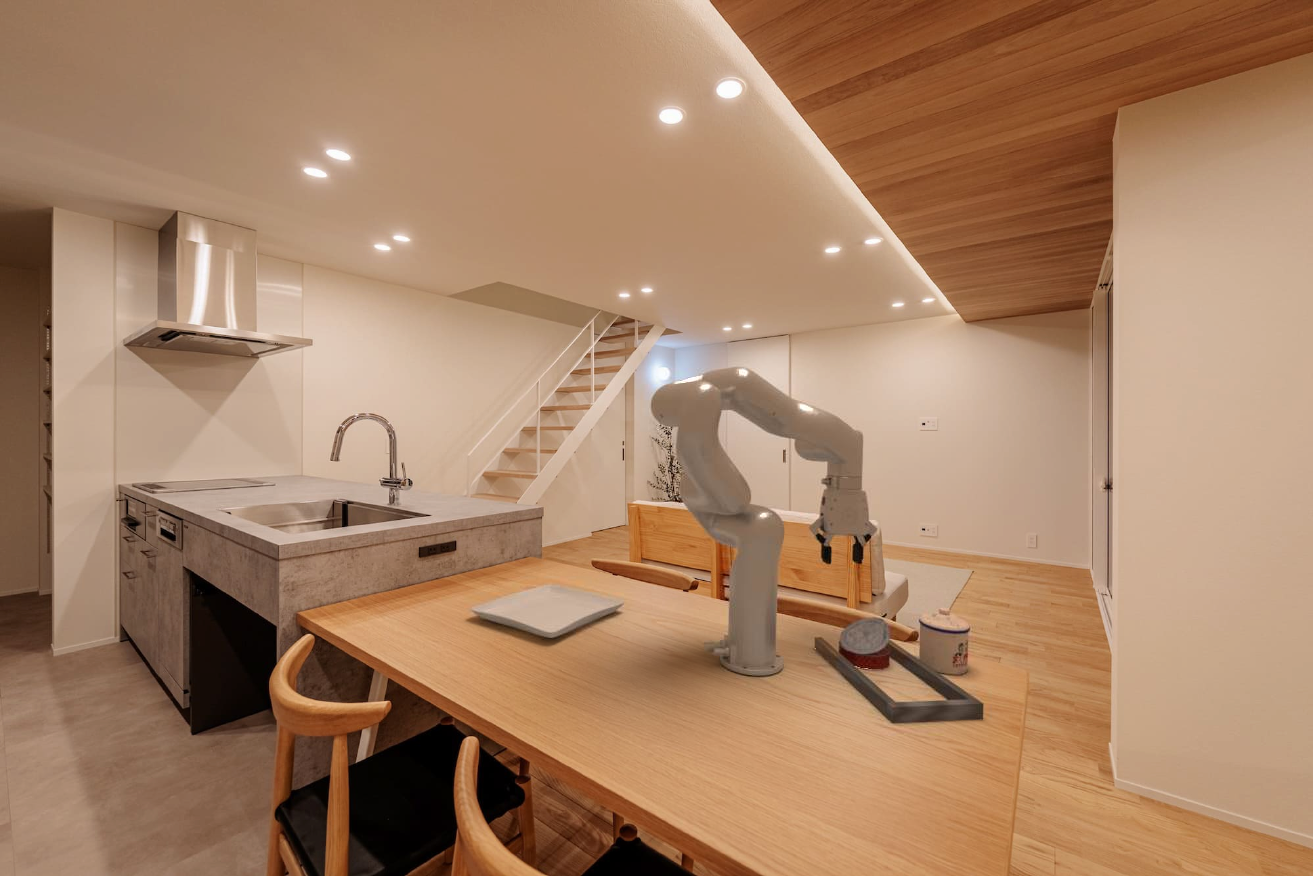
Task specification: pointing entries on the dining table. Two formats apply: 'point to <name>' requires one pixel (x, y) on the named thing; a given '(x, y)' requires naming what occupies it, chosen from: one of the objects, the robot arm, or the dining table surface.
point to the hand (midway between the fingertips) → (841, 562)
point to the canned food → (866, 643)
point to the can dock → (916, 711)
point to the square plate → (548, 609)
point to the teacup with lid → (944, 642)
